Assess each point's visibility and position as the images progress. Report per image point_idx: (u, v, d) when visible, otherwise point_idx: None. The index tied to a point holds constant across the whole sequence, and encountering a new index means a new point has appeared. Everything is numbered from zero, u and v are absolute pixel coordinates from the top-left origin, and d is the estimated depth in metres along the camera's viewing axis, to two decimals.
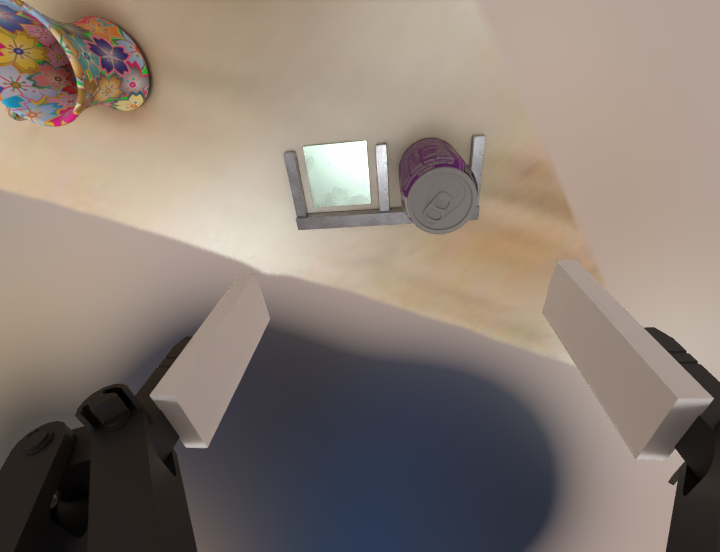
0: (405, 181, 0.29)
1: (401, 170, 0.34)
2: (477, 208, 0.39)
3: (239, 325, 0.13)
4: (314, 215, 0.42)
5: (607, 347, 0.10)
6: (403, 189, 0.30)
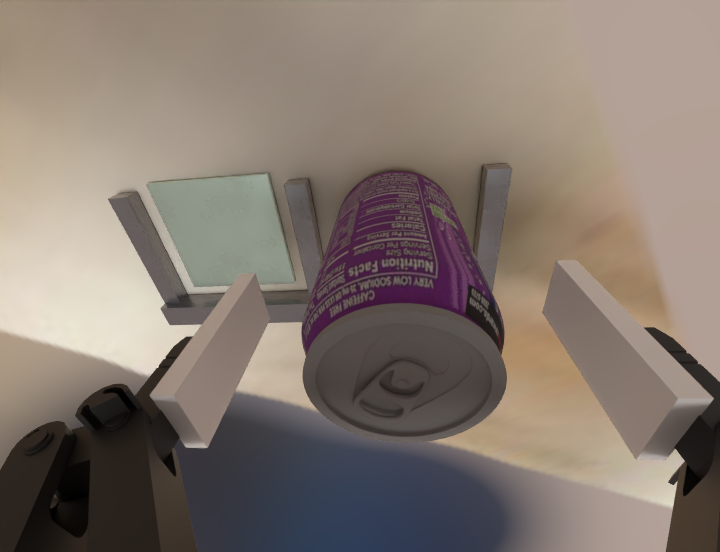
0: (306, 311, 0.11)
1: None
2: None
3: (239, 325, 0.13)
4: (195, 300, 0.23)
5: (607, 347, 0.10)
6: (302, 331, 0.11)
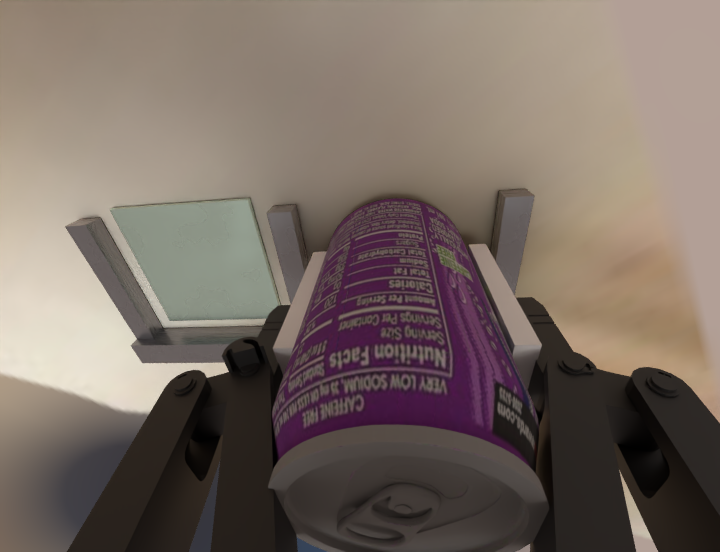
0: (276, 401, 0.08)
1: None
2: None
3: None
4: (170, 336, 0.21)
5: None
6: None
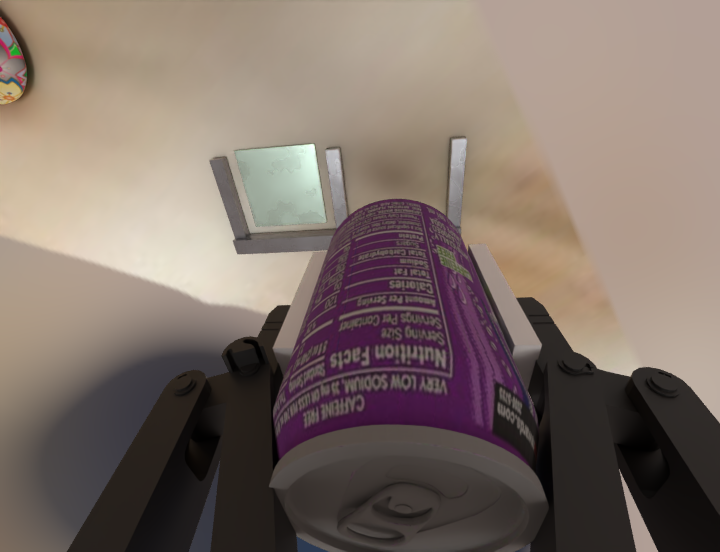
0: (277, 401, 0.08)
1: None
2: (458, 230, 0.31)
3: None
4: (256, 236, 0.34)
5: None
6: (273, 424, 0.08)
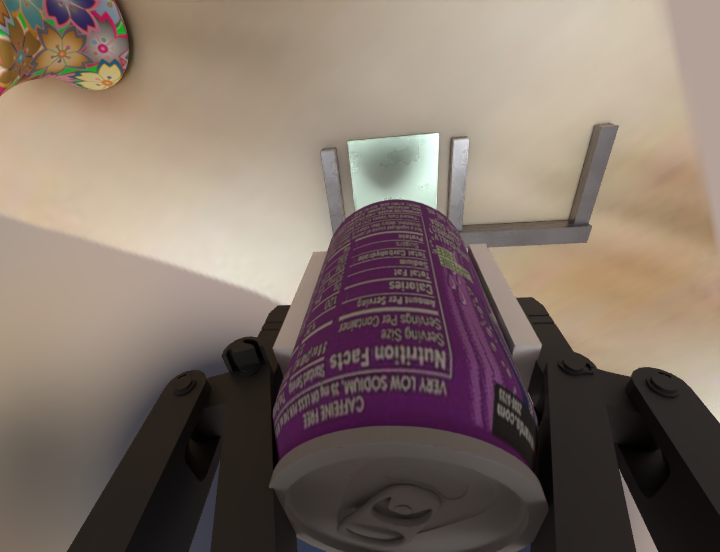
0: (276, 402, 0.08)
1: None
2: (589, 227, 0.28)
3: None
4: None
5: None
6: None
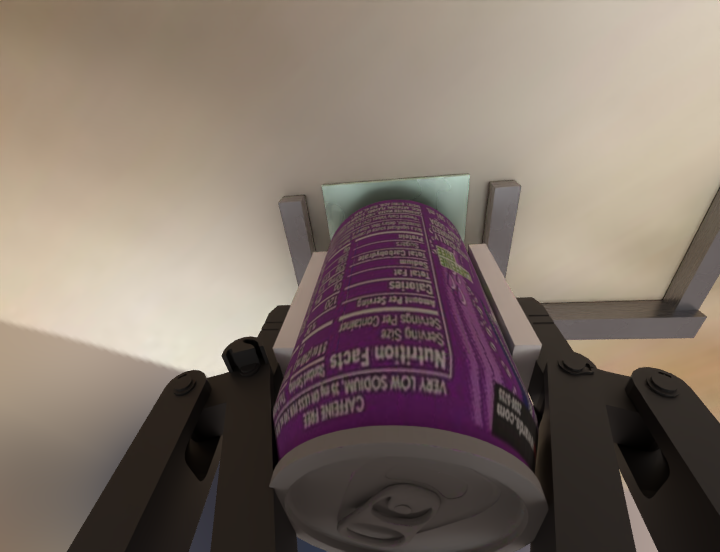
0: (277, 401, 0.08)
1: None
2: (701, 318, 0.18)
3: None
4: None
5: None
6: None
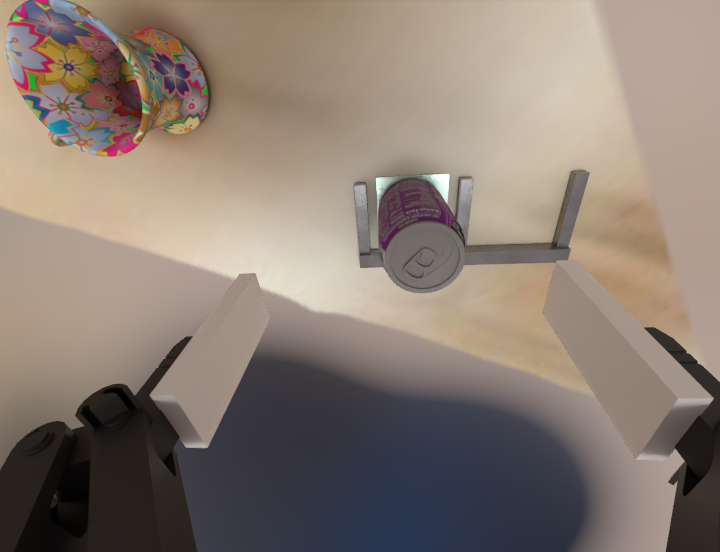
0: (384, 231, 0.25)
1: (380, 213, 0.30)
2: (568, 250, 0.35)
3: (239, 325, 0.13)
4: None
5: (607, 347, 0.10)
6: (381, 240, 0.26)
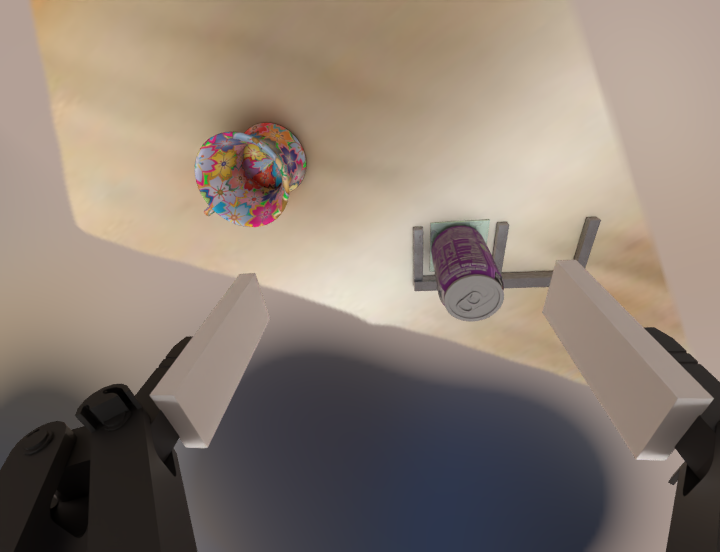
0: (444, 276, 0.35)
1: (437, 255, 0.40)
2: None
3: (239, 325, 0.13)
4: (429, 278, 0.47)
5: (607, 347, 0.10)
6: (441, 282, 0.35)
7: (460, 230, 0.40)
